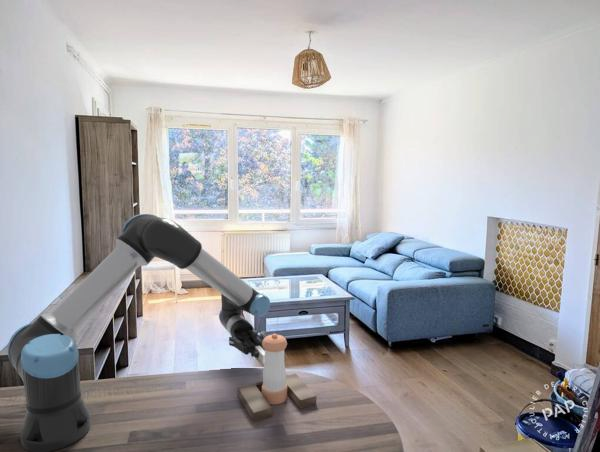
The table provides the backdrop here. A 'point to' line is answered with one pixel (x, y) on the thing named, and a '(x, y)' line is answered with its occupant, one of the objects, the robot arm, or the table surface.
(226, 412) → the table surface
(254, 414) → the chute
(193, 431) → the table surface
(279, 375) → the salt shaker
